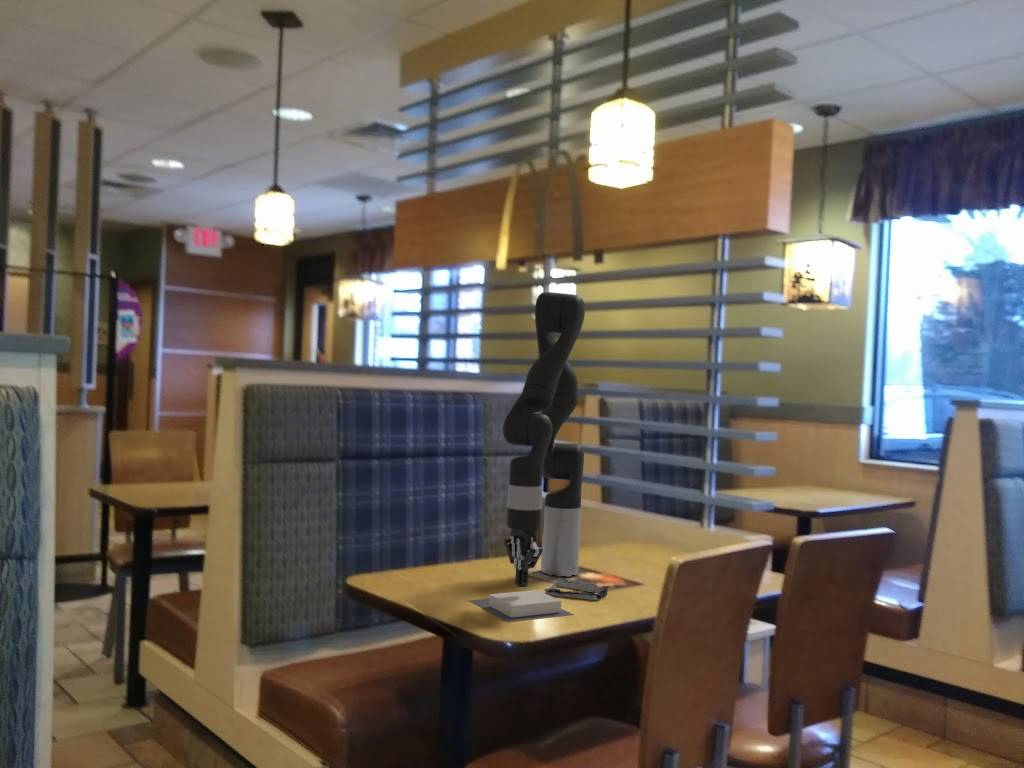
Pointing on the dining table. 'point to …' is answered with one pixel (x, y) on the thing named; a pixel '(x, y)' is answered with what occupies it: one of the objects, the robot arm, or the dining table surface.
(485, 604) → the rubber mat
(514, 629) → the dining table surface
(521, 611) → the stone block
